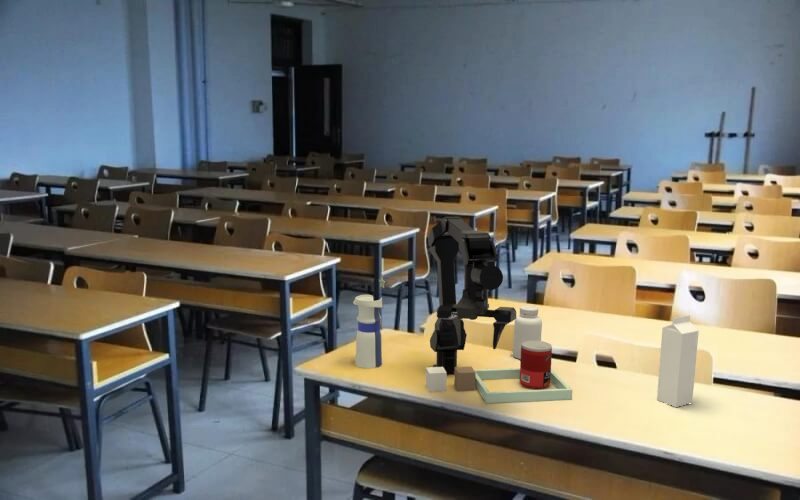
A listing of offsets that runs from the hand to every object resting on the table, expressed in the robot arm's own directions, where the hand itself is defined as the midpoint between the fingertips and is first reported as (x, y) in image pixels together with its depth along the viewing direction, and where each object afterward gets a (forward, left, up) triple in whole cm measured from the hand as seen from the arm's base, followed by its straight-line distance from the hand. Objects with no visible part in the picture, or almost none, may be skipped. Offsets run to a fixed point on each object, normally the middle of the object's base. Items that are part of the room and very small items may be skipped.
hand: (476, 347), depth 177 cm
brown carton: (-9, 0, -14) cm, 17 cm away
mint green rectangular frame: (-7, +14, -14) cm, 21 cm away
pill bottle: (-31, +23, -14) cm, 42 cm away
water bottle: (-31, -23, -14) cm, 41 cm away
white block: (-10, -8, -14) cm, 19 cm away
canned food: (-9, +19, -14) cm, 25 cm away
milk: (+6, +50, -14) cm, 52 cm away
